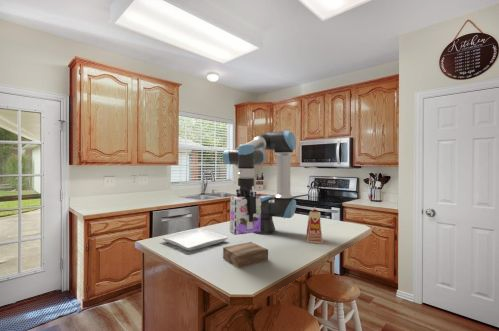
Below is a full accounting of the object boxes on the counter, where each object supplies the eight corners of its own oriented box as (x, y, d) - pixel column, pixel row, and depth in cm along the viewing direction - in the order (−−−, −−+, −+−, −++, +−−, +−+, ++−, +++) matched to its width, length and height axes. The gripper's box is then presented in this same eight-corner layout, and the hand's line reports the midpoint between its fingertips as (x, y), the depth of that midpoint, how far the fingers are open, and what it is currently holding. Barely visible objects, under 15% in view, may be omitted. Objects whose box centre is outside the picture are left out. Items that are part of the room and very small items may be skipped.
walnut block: (223, 257, 125) (223, 247, 125) (251, 251, 134) (251, 241, 134) (238, 267, 114) (238, 256, 114) (268, 260, 123) (268, 249, 123)
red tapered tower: (323, 243, 149) (323, 207, 149) (306, 242, 151) (306, 207, 151) (322, 238, 158) (322, 205, 158) (306, 237, 160) (306, 204, 160)
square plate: (188, 255, 130) (188, 247, 130) (159, 243, 148) (159, 236, 148) (228, 242, 150) (228, 236, 150) (199, 233, 168) (199, 227, 168)
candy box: (234, 235, 118) (235, 198, 118) (229, 232, 123) (229, 197, 123) (261, 231, 124) (261, 196, 124) (255, 229, 130) (255, 195, 129)
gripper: (228, 176, 129) (228, 223, 130) (250, 179, 113) (250, 232, 114) (241, 176, 133) (241, 222, 134) (264, 178, 118) (264, 230, 118)
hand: (245, 226), depth 124 cm, fingers closed on candy box, 6 cm apart
